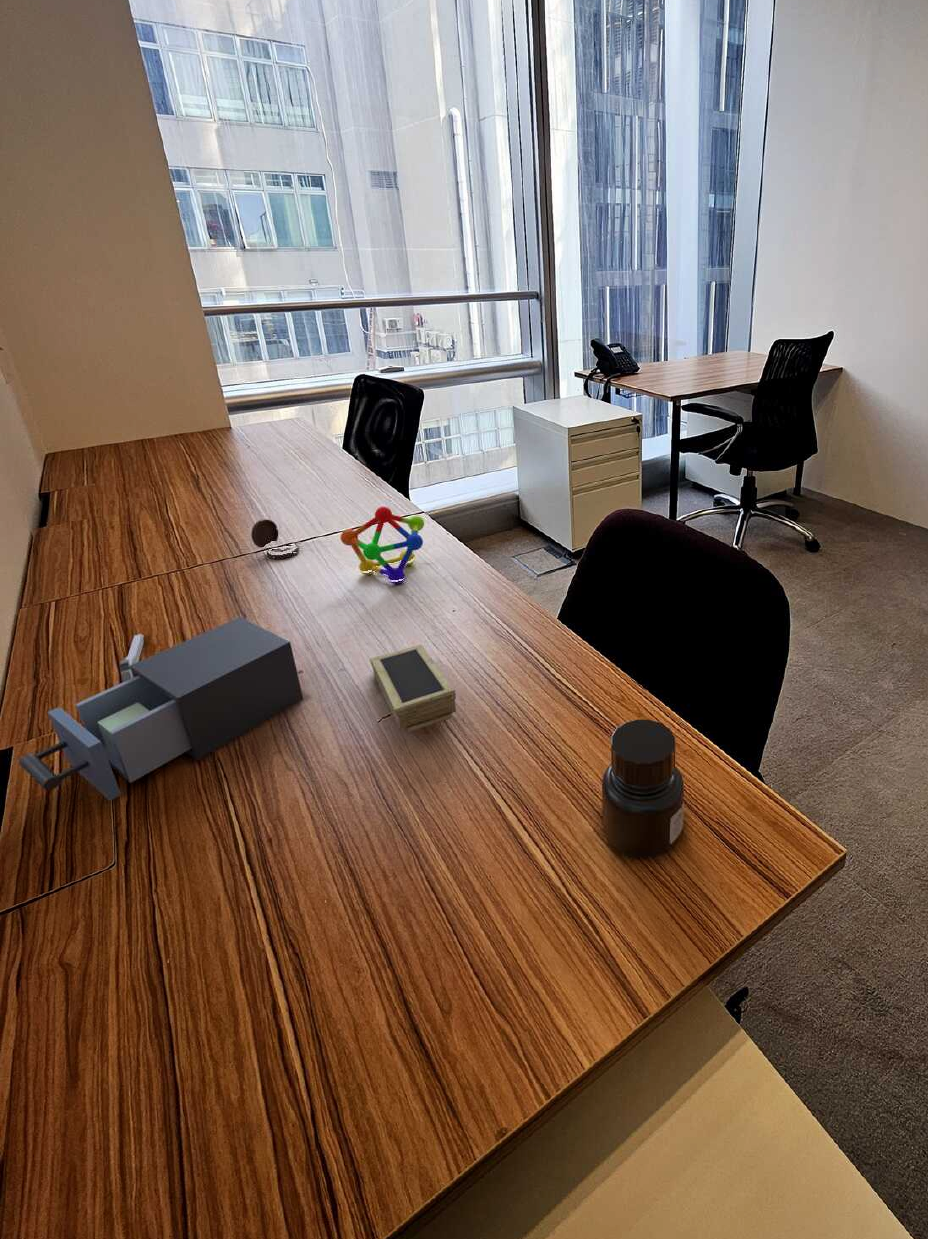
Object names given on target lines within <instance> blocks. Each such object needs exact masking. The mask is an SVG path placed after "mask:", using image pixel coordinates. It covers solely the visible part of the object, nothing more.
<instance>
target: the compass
mask: <svg viewBox="0 0 928 1239" xmlns="http://www.w3.org/2000/svg"><path fill="white" fill-rule="evenodd" d="M278 539H279V529H278V526H277V524H276V523H275V522H274V521H273V520H271V519H259V520H258V521H256V522H255V523H254V525H253V526H252V528H251V540H252V542H253V544H254V545H255V546H256V547H257V548H260V547H261V548H260V549H263V548H262V547H264V546H265V545H266V544H268V543H270V542H271V541H276V542H278ZM291 543H292V544H293V542H291ZM300 544H302V542H301V541H299V542H298V543H297V542H296V543H295V545H296V546H298V545H300ZM283 546H292V545H283ZM290 549H291V548H286V549H284V550H281V549H279V548H278V549H272V550H271V551H274V552H283V551H287V550H290ZM268 551H269V549H268V550H267V551H266V557H268V558H269V557H270V558H269V559H272V560H282V559H287V558H290V557H293V556H296V554H297V553H298V552H300V547H299V546H298V548H296V549H295V550H294V551H292V553H287V554H283V555H271V554H269V553H268ZM293 552H297V553H293ZM273 557H274V558H273Z"/></svg>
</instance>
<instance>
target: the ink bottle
mask: <svg viewBox="0 0 928 1239" xmlns="http://www.w3.org/2000/svg"><path fill="white" fill-rule="evenodd" d="M676 746H677V743H676V736H675V735H674V734H673V732H672V731H671V728H670V727H668V726H666V725H664V724H663V723H661V722H660V721H655V720H651V719H649V718H648V719H647V718H646V719H638V718H636V719H634V720H630V721H625V722H624V723H622V724H621V725H619V726H618V727H616V729H615V730H614V732H613V733H612V735H611V737H610V764H609V765H608V766H607V767H606V769H605V770H604V773H603V776H602V780H601V809H602V810H601V811H602V812H601V814H602V829H603V832H604V835H605V838H606V839H607V840H608V842H609V843H610V845H611V846H612V847H613V848H614V849H616V850H617V851H618V852H620V853H621V854H623V855H626V856H629V857H632V858H651V857H656V856H659V855H662V854H664V853H667V852H668V851H669V850H671V849H672V848H673V847H675V845H676V844H677V843H678V842H679V840H680V839H681V836H682V833H683V827H684V826H683V825H684V808H685V807H684V806H685V804H684V802H685V784H684V779H683V776H682V774H681V771H680V770H679V768H678V767H677V765H676V754H677V753H676V750H677V749H676V748H677V747H676Z"/></svg>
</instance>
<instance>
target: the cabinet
mask: <svg viewBox="0 0 928 1239" xmlns="http://www.w3.org/2000/svg"><path fill="white" fill-rule="evenodd" d="M296 665H297V664H296V660H295V656H294V653H293V648H292V643H291V641H289V640H288V639H285V638H283V637H282V636H279V635H277V634H276V633H273V632H272V631H270V630H268V629H265V628H263V627H261V626H260V625H257V624H255V623H254V622H251V621H249V620H247V619H245V618H243V617H242V616H239V617H236V618H235V619H231V620H229V621H227V622H226V623H223V624H221V625H218V626H216V627H213V628H212V629H209V630H207V631H205V632H203V633H200V634H198V635H195V636H193V637H191V638H189V639H187V640H184V641H183V642H179V643H178V644H176V645H173V646H171V647H168V648H167V649H164V650H161V651H160V652H157V653H155V654H153V655H150V656H148V657H146V658H143V659H141V660H139V662H137V663H135V664H133V665H130V669H131V672H132V675H133V678H134V677H136V676H140V677H141V678H142V679H144V680H145V681H147V682H148V683H150V684H151V685H153V686H154V687H156V688H157V689H159V690H160V691H162V692H163V693H165V694H166V695H168V696H169V697H170V698H172V699H173V700H175V701H176V702H177V705H178V708H179V711H180V715H181V718H182V721H183V724H184V727H185V730H186V733H187V736H188V739H189V743H190V746H191V749H189V750H188V751H186V752H185V753H187V754H188V755H189V756H191V757H192V758H194V759H195V760H196V761H199V760H201V759H203V758H204V757H206V756H208V755H210V754H211V753H213V752H215V751H216V750H218V749H220V748H221V747H223V746H225V745H227V744H229V743H230V742H232V741H233V740H235V739H237V738H239V737H241V736H242V735H244V734H245V733H248V732H249V731H251V730H253V729H254V728H256V727H258V726H259V725H261V724H262V723H264V722H266V721H268V720H269V719H271V718H273V717H274V716H276V715H278V714H280V713H282V712H283V711H285V710H286V709H288V708H290V707H291V706H293V705H295V704H297V703H299V702H300V701H302V700H303V699H304V696H303V691H302V687H301V682H300V678H299V675H298V670H297V666H296Z"/></svg>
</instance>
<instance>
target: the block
mask: <svg viewBox="0 0 928 1239" xmlns="http://www.w3.org/2000/svg"><path fill="white" fill-rule="evenodd" d="M147 712H149V710H148V709H146V708H145V707H144V706H142V705H141V704H140V703H138V702H137V703H135V704H133V705H131V706H129V707H127V708H125V709H123V710H121V711H119V712H117V713H115V714H113V715H111V716H108V717H106V718H104V719H102V720H100V721H98V722H97V723H98V726H99V728H100V731H101V734H102V736H103V739H104V741H105V744H106V747H107V749H108V751H109V752H110V753H111V754H113V755H114V756H115V757H116V758H117V759H119V756H118V754H117V751H116V748H115V746H114V743H113V741H112V738H111V735H110V733H109V732H110V731H111V730H113V729H115V728H117V727H119V726H121V725H123V724H125V723H127V722H129V721H131V720H133V719H135V718H137V717H139V716H141V715H143V714H145V713H147ZM119 760H120V759H119Z"/></svg>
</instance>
